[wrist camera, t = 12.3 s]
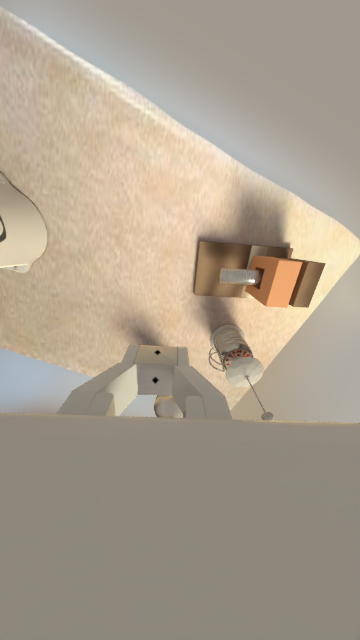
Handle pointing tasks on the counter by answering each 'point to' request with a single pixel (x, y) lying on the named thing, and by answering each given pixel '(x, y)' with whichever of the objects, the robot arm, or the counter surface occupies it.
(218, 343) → the french press
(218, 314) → the counter surface
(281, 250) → the pipe stand
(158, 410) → the plastic bottle
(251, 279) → the steel pipe
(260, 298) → the collar
